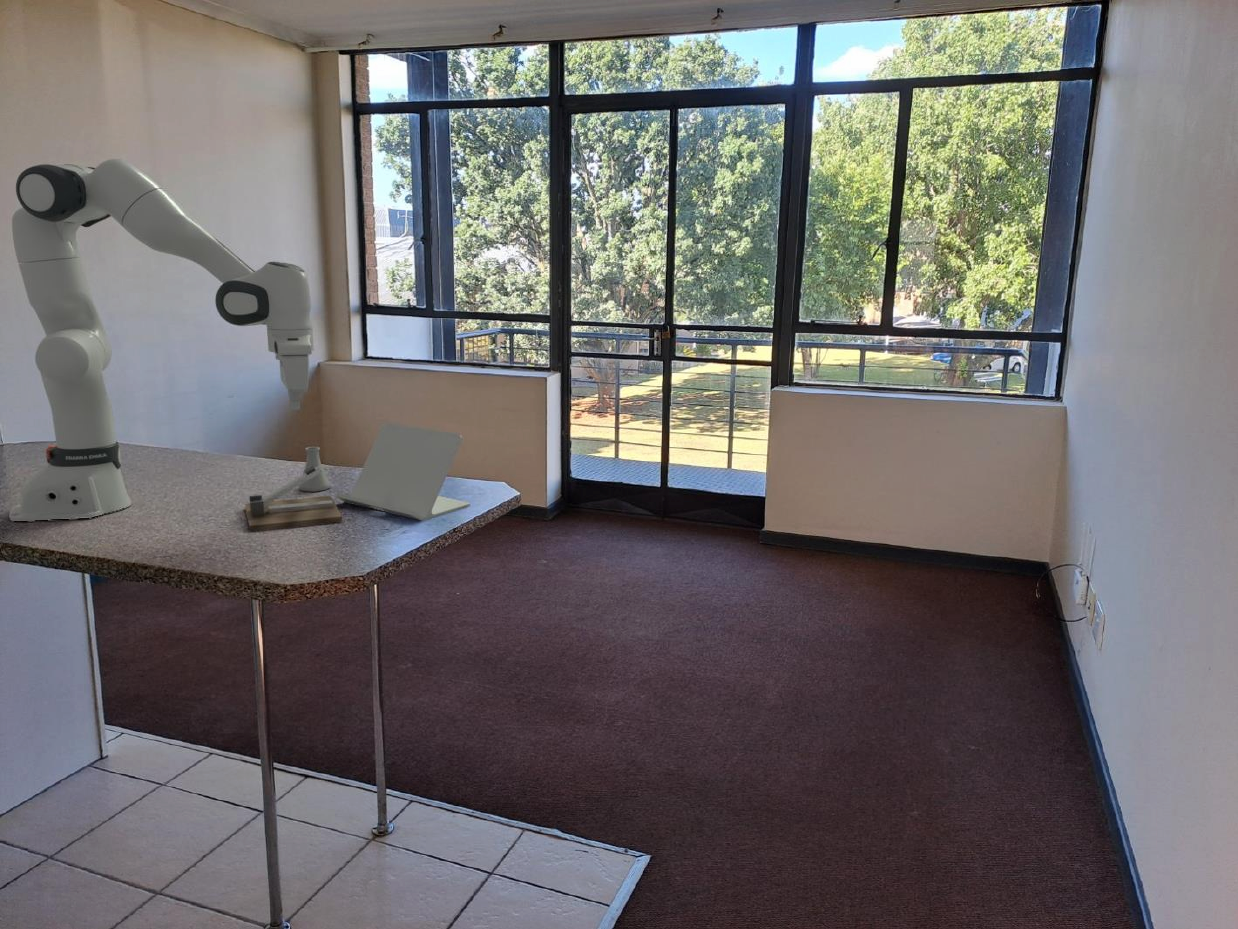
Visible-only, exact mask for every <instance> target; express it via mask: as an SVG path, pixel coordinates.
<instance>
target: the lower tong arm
mask: <svg viewBox="0 0 1238 929" xmlns="http://www.w3.org/2000/svg"><path fill="white" fill-rule="evenodd" d="M261 499H263V495H262V494H255V495H249V503H250V509H251V512H252V517H262V516H264V504H263V501H253V500H261ZM252 501H253V502H252ZM332 507H333V502H332V500H329V501H318V502H308V503H297V504H286V505H276V506H268V508H269V514H271V513H281V512H291V511H301V510H311V509H322V508H332Z"/></svg>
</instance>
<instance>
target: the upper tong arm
mask: <svg viewBox="0 0 1238 929" xmlns="http://www.w3.org/2000/svg"><path fill="white" fill-rule="evenodd" d="M304 471H305V474H303V473H302V475H300V476H299V477H296V478H295V479H293V480H292V481H289V482H288V483H287V484H285V485H284V486H282V487H280V488H278V489H276V490H274V491H273V492H271V493H270V494H268V495H266V496H265V497H262V499H261V500H253V501H263V504H264V506H265V505H267V504H269V503H270V502H272V501H277V499H279V498H281V497H282V496H284V495H286V494H287V493H289V492H291V491H292V490H294V489H296V488H298V487H299V485H301V484H302V483H304V482H306V481H308V480H309V479H311V478H313V477H314V476H316V475H318V474H319V473H321V472H322V470H321V468H320V467H319V466H317V467H315V468H314V467H313V466H311V467H310V468H308V469H306V470H304V469H303V472H304ZM253 501H252V502H253Z"/></svg>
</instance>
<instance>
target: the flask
mask: <svg viewBox="0 0 1238 929" xmlns="http://www.w3.org/2000/svg"><path fill="white" fill-rule="evenodd" d="M304 450H305V452H306V462H305V466H304V469H303V472H302V475H303V474H305V471H304V470H306V469H308V468H310V467H311V466H313V467H314V468H315V467H317V466H319V467H320V468H321V470H322V472H321V473H319V474H318V475H316V476H314V477H313V478H311V479H309V480H308V481H306V482H304V483H302V484H301V485H299V486H298V489H299V490H300V491H303V492H313V493H314V492H319V491H325V490H328V489H330V488H332V484H331V483H330V480H329V478H328V477H327V475H326V472H325V470H324V467H323V465H322V463H321V458H320V450H321V448H320V447H319V446H309V447H305V448H304Z"/></svg>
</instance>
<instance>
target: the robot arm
mask: <svg viewBox="0 0 1238 929" xmlns="http://www.w3.org/2000/svg"><path fill="white" fill-rule="evenodd" d="M15 193H16V198H17V200H18V201H19V204H20V205H21V206H22V207H20V208H18V209H17V210H16V211H14V213H13V215H12V217H11V228H12V231H11V232H12V240H13V245H14V246H13V247H14V252H15V256H16V260H17V263H18V267H19V268H18V269H19V270H20V271H19V272H20V275H21V278H22V282H23V285H24V288H25V292H26V295H27V298H28V303H29V304H30V306H31V307H32V309H33V310H34V312H35V314H36V316H37V317H38V320H39V322H40V325H41V326H42V328H43V331H44V333H45V337H44V338H43V339H42V340H41V341H40V342H39V344H38V346H37V348H36V351H35V356H34V358H35V359H34V360H35V364H36V366H37V370H38V371H39V373H40V376H41V381H42V384H43V386H44V390H45V393H46V396H47V399H48V403H49V406H50V409H51V414H52V422H53V429H54V437H55V443H56V445H54V444H52V445H51V444H50V445H49V446H48V447H47V448H46V450H45V452H46V453H45V456H46V461H47V465H46V466H45V467H44V468H43V469H41V470H40V471H38V473H36V474H34V476H32V477H31V478H29V480H27V481H26V483H25V484H24V485H23V487H22V489H21V491H20V492H21V493H20V497H19V498H20V499H19V500H20V501H19V502H20V504H18V505H16V506H14V507H12V508H11V509H10V511H9V513H8V514H9V515H8V518H10V519H9V520H10V521H11V522H14V521H28V522H36V521H35V520H48V519H61V518H75V517H93V516H97V515H101V516H102V514H103V513H106V514H109V513H108V512H110V513H112V512H111V511H114V512H117V511H116V510H118V511H120V510H119V509H121V510H123V509H122V508H124V509H126V508H128V507H130V506H131V505H132V504H133V502H132V500H131V498H130V496H129V494H128V491H127V488H126V486H125V485H126V484H125V481H124V478H123V475H122V471H121V466H122V458H121V457H122V454H121V447H120V444H119V442H118V441H117V438H116V429H115V420H114V413H113V411H114V410H113V406H112V404H111V401H110V399H109V395H108V392H107V388H106V385H105V380H104V376H103V371H104V370H106V368H107V367H108V365H109V364H110V362H111V360H112V346H111V343H110V341H109V339H108V336H107V333H106V329H105V327H104V325H103V322H102V320H101V317H100V315H99V312H98V310H97V308H96V306H95V305H96V304H95V303H94V300H93V298H92V295H91V291H90V288H89V284H88V280H87V275H86V273H85V268H84V265H83V262H82V258H81V254H80V252H79V251H80V250H79V248H78V244H77V239H76V238H77V231H78V229H79V228H80V227H84V228H89V227H92V226H93V225H96V224H98V223H100V222H102V221H104V220H106V219H108V218H113V219H114V221H116V222H117V223H118V224H119V225H120V226H122V227H123V229H125V231H126V232H128V233H129V234H130V235H131V236H132V237H133V238H134V239H136V240H138V242H140V243H142V244H143V245H144V246H147V247H148V248H150V249H151V250H154V251H155V252H160V253H164V254H167V255H173V256H176V257H180V258H183V259H186V260H189V261H191V262H193V263H196V264H197V265H199V266H201V267H202V268H203V269H205V270H206V271H207V272H208V273H210V274H211V275H212V276H213V277H214V278H216V279H217V280H218V281H219V282H221V283H222V284H221V285H220V286H219V288H218V289H217V291H216V293H215V307H216V310H217V312H218V314H219V316H220V318H222V319H223V320H224V321H225V322H226V323H228V324H231V325H234V326H238V327H249V326H250V327H251V326H259V325H265V326H266V334H267V336H266V337H267V346H268V352H269V353H274V355H275V360H277V361H279V371H280V374H279V375H280V381H281V382H282V384H283V385H284V387H285V388H286V390H287V393H288V400H289V406H290V409H291V411H298V410H300V409H301V398H302V393H307V392H308V388H309V378H310V377H309V376H310V375H309V373H310V372H309V371H310V355H312V352H314V350H315V347H314V336H313V335H314V334H313V333H314V331H313V324H312V322H311V316H310V315H311V309H312V300H311V292H310V286H309V280H308V276H307V273H306V271H305V270H304V269H303V268H302V267H301V266H299V265H296V264H292V263H287V262H280V261H269V262H266V263H265V264H264V265H263V266H262V267H261V268H259V269H257V270H254V269H253V268H252V267H251V266H249V265H248V264H247V263H245V262H244V260H242V259H241V258H240V257H238V256H237V255H236V254H235V253H234V252H233V251H232V250H230V249H229V248H228V247H226V246H225V244H223V243H222V242H220V241H219V240H218V239H217V238H216V237H214V236H213V234H211V233H210V232H209V231H208V230H207V229H206V228H205V227H203V226H202V224H200V223H199V222H198V221H197V220H196V219H195V218H194V217H193V216H192V215H191V214H190V213H189V212H188V211H187V210H186V209H185V208H184V207H183V206H182V205H181V204H180V203H179V202H178V200H176V199H175V198H174V197H173V196H172V195H171V194H170V193H169V192H167V191H166V189H164V188H163V187H162V186H161V185H160V184H159V183H158V182H156V181H155V180H154V179H152V178H151V177H150V176H149V175H147V174H146V173H145V172H143V171H142V170H141V169H139V168H138V167H136V166H135V165H133V164H131V163H130V162H128V161H127V160H124V159H121V158H110V159H107V160H105V161H102V162H101V163H99V164H98V165H97V166H96V167H92V166H82V165H78V164H70V163H69V164H67V163H64V164H48V163H47V164H46V163H43V164H37V165H33V166H30V167H28V168H25V169H24V170H23V171H22V172H21V173H20V174H19V175H18V177H17V180H16V182H15ZM103 515H104V514H103ZM48 521H49V520H48Z"/></svg>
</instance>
